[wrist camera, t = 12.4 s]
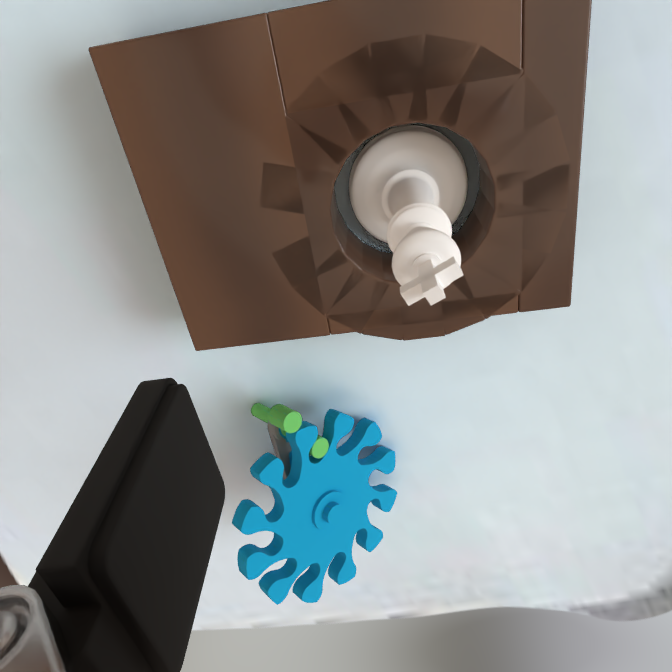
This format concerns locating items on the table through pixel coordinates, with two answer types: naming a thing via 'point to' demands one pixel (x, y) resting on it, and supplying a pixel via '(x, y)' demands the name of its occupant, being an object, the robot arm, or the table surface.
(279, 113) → the pad
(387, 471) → the blue slotted cogwheel
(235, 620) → the table surface
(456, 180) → the chess piece
